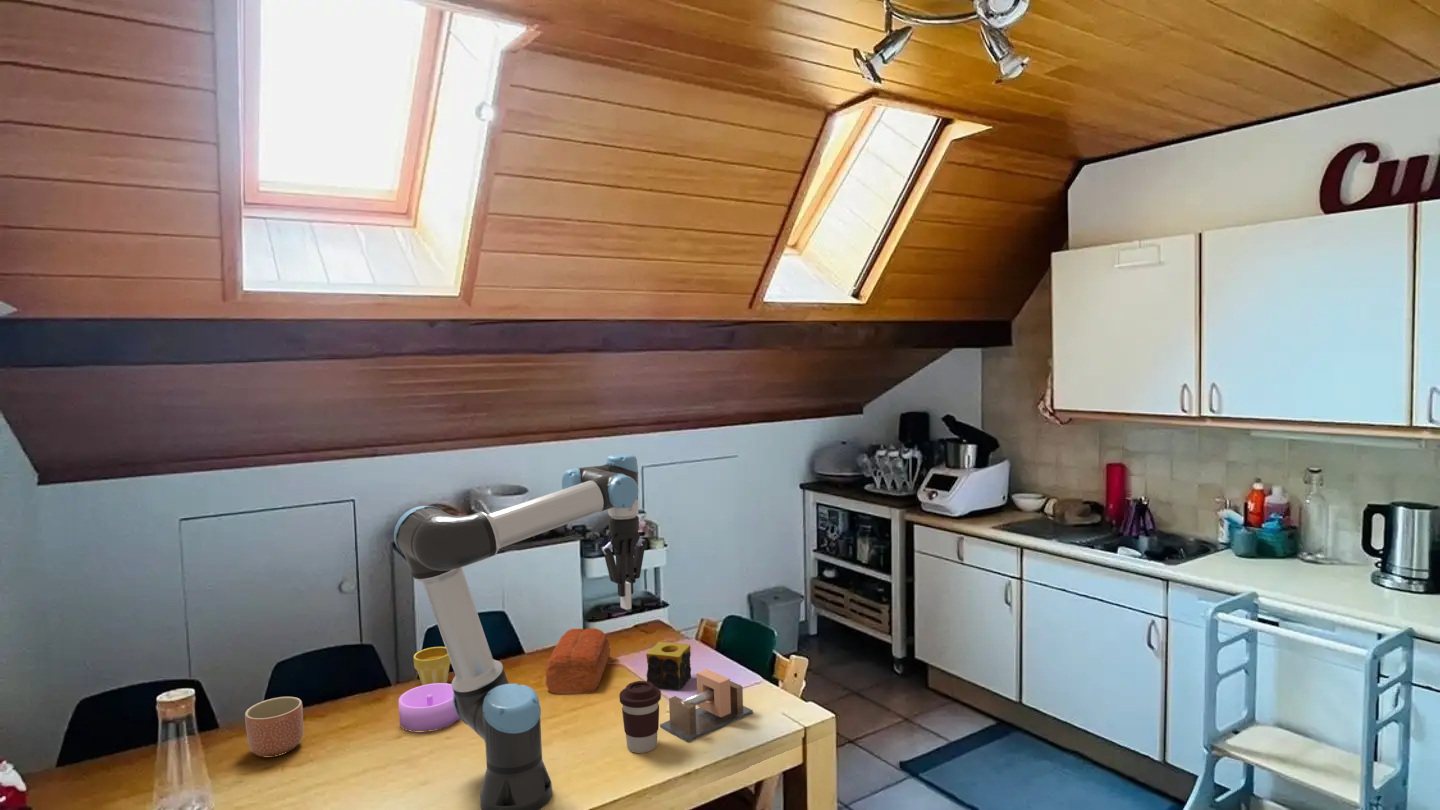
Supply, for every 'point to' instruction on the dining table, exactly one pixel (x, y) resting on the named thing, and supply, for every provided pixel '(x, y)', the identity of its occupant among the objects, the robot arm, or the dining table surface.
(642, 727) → the coffee cup
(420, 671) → the plant pot
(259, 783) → the dining table surface
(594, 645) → the bread
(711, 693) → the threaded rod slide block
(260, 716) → the planter
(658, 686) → the candle
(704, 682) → the collar
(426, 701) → the container set
